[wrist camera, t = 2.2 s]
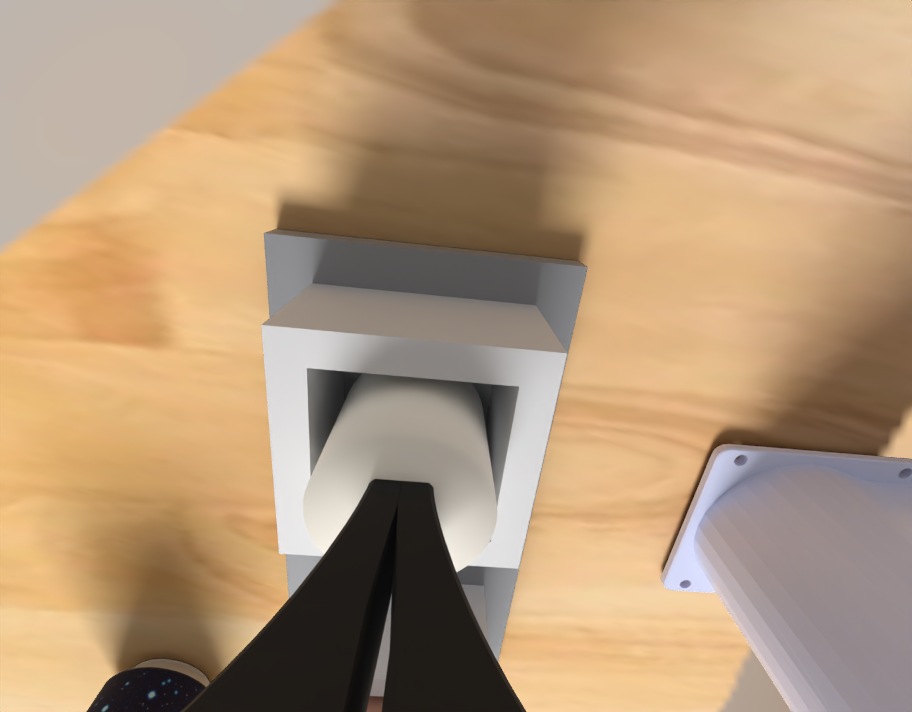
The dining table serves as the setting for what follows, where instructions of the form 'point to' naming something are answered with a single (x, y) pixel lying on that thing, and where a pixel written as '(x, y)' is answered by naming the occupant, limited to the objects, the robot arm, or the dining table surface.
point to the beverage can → (151, 688)
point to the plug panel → (416, 373)
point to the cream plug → (408, 458)
